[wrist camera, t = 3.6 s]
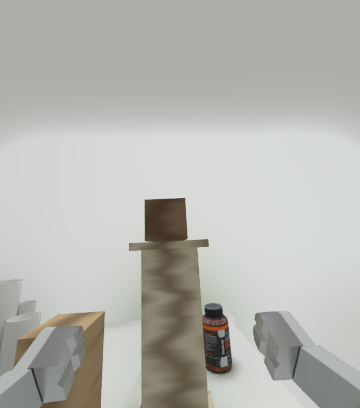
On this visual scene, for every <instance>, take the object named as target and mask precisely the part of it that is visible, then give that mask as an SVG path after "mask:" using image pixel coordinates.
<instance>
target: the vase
mask: <svg viewBox="0 0 360 408" xmlns="http://www.w3.org/2000/svg"><path fill="white" fill-rule="evenodd" d="M21 286H22V280H21V279H20V280H19V279H17V280H5V281H0V377H1V376H2V375H3V374H5V373H6V372H7V371H12V370H13V368H14V362H15V354H16V347H17V340H18V339H19V338H20V337H22V336H24V335H25V334H27V333H29V332H30V331H32V330H34V329H35V328H37V327H39V326H40V317H41V313H39V312H35V309H36V301H26V302H22V303H19V300H20V293H21Z"/></svg>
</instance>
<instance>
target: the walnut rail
mask: <svg viewBox="0 0 360 408" xmlns="http://www.w3.org/2000/svg"><path fill="white" fill-rule="evenodd" d="M186 239H187V222H186V205H185V198H178V199H177V198H176V199H153V200H145V241H149V242H166V241H184V240H186Z"/></svg>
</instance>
